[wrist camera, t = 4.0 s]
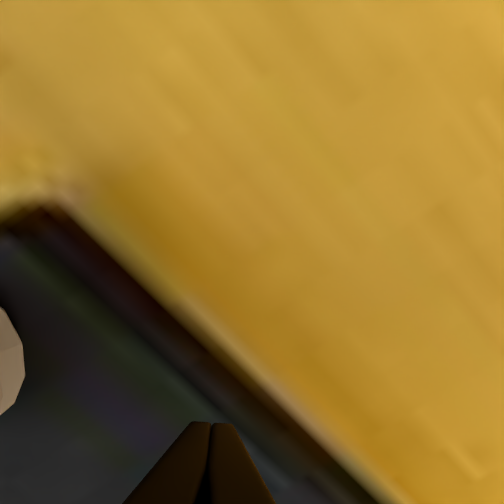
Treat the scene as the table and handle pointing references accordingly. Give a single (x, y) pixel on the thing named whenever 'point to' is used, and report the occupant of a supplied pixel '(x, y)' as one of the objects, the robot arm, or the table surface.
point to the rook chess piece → (9, 362)
